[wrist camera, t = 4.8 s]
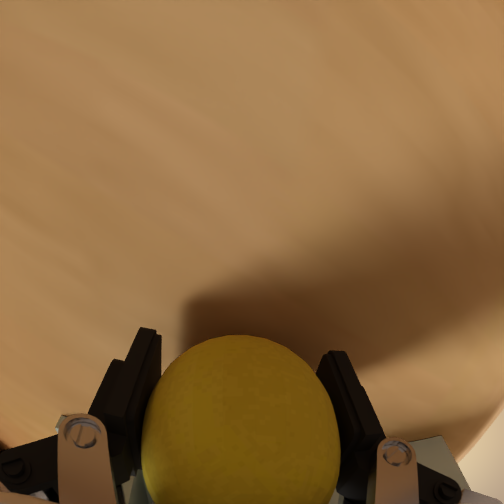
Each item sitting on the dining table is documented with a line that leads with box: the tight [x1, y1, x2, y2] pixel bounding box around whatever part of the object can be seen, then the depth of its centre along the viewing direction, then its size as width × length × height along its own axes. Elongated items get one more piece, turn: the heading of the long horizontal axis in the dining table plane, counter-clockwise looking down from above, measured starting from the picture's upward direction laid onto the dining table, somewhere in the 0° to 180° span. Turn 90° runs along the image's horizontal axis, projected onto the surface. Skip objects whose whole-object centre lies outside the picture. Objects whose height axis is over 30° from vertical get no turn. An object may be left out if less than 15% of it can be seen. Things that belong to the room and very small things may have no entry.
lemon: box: [141, 335, 341, 504], centre depth 8 cm, size 6×6×8 cm
